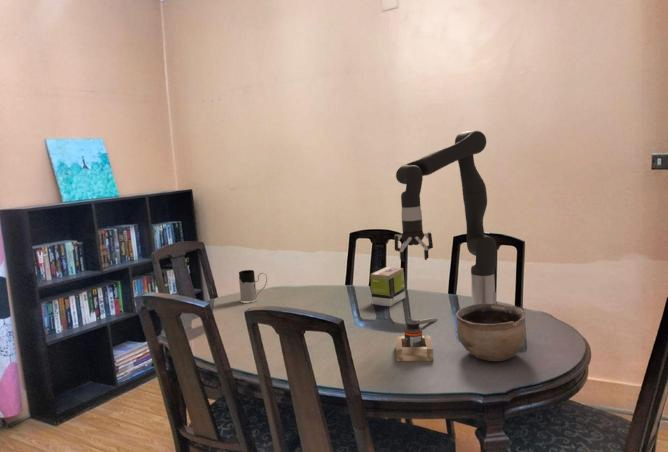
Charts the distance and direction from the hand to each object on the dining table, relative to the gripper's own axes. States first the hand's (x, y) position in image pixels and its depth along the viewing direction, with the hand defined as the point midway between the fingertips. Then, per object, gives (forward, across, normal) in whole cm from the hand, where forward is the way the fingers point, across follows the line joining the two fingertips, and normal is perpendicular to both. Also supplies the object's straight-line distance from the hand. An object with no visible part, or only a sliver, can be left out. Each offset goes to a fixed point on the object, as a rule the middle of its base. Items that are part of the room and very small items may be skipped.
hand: (414, 260), depth 185 cm
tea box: (+28, +10, -38) cm, 49 cm away
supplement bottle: (+27, +4, +24) cm, 36 cm away
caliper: (+28, -2, -2) cm, 28 cm away
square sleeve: (+27, +4, +24) cm, 36 cm away
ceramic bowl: (+28, -21, +27) cm, 44 cm away
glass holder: (+26, +77, -48) cm, 95 cm away
